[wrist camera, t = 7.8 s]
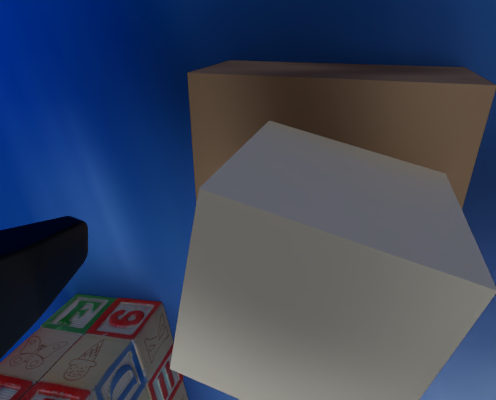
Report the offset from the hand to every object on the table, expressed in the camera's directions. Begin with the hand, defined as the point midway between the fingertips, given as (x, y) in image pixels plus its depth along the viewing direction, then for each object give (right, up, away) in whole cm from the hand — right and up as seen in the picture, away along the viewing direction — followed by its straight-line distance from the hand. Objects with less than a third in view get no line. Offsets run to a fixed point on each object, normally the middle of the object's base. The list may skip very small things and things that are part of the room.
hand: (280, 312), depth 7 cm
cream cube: (+2, +2, +4) cm, 5 cm away
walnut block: (+3, +4, +8) cm, 9 cm away
